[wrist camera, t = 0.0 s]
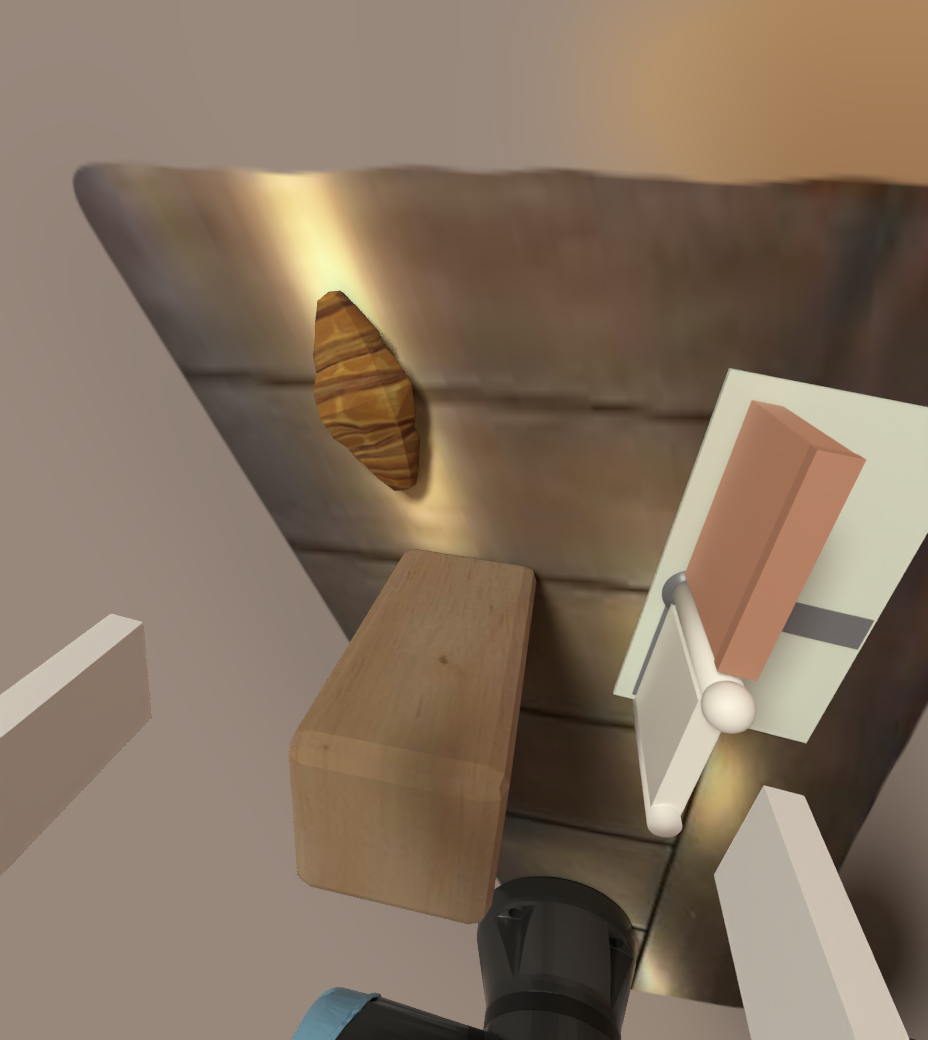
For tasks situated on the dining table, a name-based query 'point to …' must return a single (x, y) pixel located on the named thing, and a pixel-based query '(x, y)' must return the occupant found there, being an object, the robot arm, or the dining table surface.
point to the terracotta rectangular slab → (766, 533)
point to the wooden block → (417, 740)
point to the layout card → (842, 562)
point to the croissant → (364, 393)
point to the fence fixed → (682, 713)
